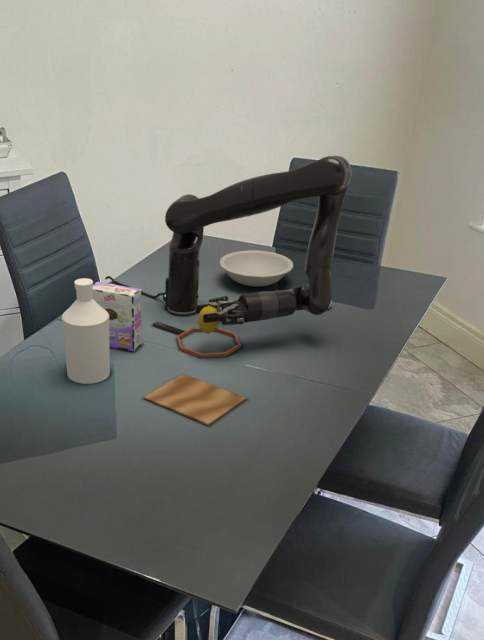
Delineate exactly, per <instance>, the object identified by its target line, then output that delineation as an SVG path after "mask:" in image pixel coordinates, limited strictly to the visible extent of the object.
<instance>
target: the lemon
mask: <svg viewBox="0 0 484 640" xmlns="http://www.w3.org/2000/svg"><path fill="white" fill-rule="evenodd" d="M216 309H217V308H213V307H211V306H207V307H205V308H203V309H202V310H201V311H200V314H198V319H197V322H198V323H197V324H198V328H200V329H201V330H202V331H201V332H204V333H205V334H206V335H210V333H212V332H215V331H214V330H215V329H216V328H217V327H218V326H219V322H217V321H215V322H207V323H204V322H203V315H204V314H208V313H217V314H218V312H217V311H216Z"/></svg>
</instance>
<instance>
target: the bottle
mask: <svg viewBox="0 0 484 640" xmlns="http://www.w3.org/2000/svg"><path fill="white" fill-rule="evenodd" d="M93 285H94V281H93V279H91V278H86V277H83V278H77V279H76V280H74V289H75V294H76V299H75V300H74V302H73V303H72V304H71V305H70V306H69V308H67V309H66V310H65V311H64V312H63V313H62V315H61V321H62V332H63V343H64V352H65V363H66V364H65V366H66V375H67V378H68V379H69V380H70V381H72V382H74V383H78V384H82V385H91V384H92V385H93V384H98V383H100V382H103V381H105V380H106V379H108V378H109V376H110V374H111V367H110V365H111V364H110V363H111V361H110V358H111V357H110V356H111V355H110V354H111V353H110V347H109V314H108V312H107V311H105V310H104V309H103V308H102V307H101V306H100V305H99V304H97V303H96V302H95V301H94V300H93V299H92V288H93Z"/></svg>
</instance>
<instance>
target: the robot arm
mask: <svg viewBox="0 0 484 640" xmlns="http://www.w3.org/2000/svg"><path fill="white" fill-rule="evenodd" d="M352 174H353V172H352V167H351V164H350V162H349V161H348V160H347V159H346V158H345V157H343V156H341V155H327V156H324V157H321V158H319V159H318V160H315V161H312V162H310V163H308V164H305V165H303V166H300V167H298V168H294V169H291V170H287V171H283V172H282V171H280V172H273V173H267V174H263V175H257V176H254V177H250V178H247V179H244V180H241V181H238V182H236V183H233V184H230V185H229V186H226V187H224V188H222V189H220V190H219V191H215V192H214V193H212V194H210V195H208V196H204V197H198V196H196V195H194V194H184V195H181V196H180V197H179V198H177V199H175V200H174V201H173V202H171V203H170V204H169V206H168V208H167V209H166V212H165V215H164V222H165V225H166V227H167V228H168V229H169V230H170V231H171V232H172V236H171V240H170V242H169V244H168V273H167V274H168V276H167V277H166V278H165V286H164V287H165V288H164V289H165V290H164V292H159V293H157V294H156V295H151V294H148V293H146V292H145V291H142V290H141V295H143V296H145V297H148V298H151V299H158V298H159V297H160V296H162V301H164V309H166V310H167V311H168V313H170V314H173V315H177V316H190V315H193V314H195V313H196V314H197V315H199V314H200V311H201V310H202V309H203V308H205V307H207V306H211V307H213V308H215V309H216V311H217V312H218V314H217V313H208V314H204V315H203V322H204V323H207V322H215V321H217V322H219V323H221V325H222V326H233V325H244V324H246V323H253V322H259V321H260V322H261V321H267V320H272V319H276V318H277V319H278V318H283V317H284V318H285V317H288V316H289V317H290V316H292V315H294V313H295V312H299V311H306V312H307V313H310V314H311V315H313V316H320V315H323V314H324V313H326V312H327V311H328V309H330V307H331V306H330V303H331V300H332V297H333V287H332V286H333V284H332V267H333V261H334V253H335V246H336V242H337V241H336V240H337V234H338V228H339V222H340V218H341V212H342V208H343V204H344V201H345V197H346V194H347V191H348V188H349V186H350V182H351V180H352ZM316 197H317V198H318V204H317V210H316V216H315V220H314V223H313V228H312V231H311V234H310V238H309V242H308V246H307V251H306V258H305V266H304V273H305V275H306V276H307V278H308V284H302V285H298V286H295V287H292V288H289V289H282V290H274V291H259V292H249V293H243V294H241V295H240V296H239V297H238V299H237V300H235V299H234V300H233V299H232V300H231V299H229V296H228V295H224V296H219V297H214V298H210V299H208V303H203V304H199V283H200V259H201V256H200V255H201V247H202V244H203V240H204V227H207V226H210V225H213V224H216V223H221V222H228V221H234V220H238V219H239V220H240V219H242V218H248V217H251V216H255V215H260V214H263V213H266V212H270V211H273V210H275V209H278V208H280V207H283V206H284V205H285V206H286V205H287V204H289V203H292V202H294V201H299V200H303V199H309V198H316ZM108 279H109V280H111V281H112V283H113V284H115V285H120V286H126V287H132V288H134V287H133V286H130V285H126V284H125V283H121V282H118V281H117V280H115V279H114V278H113V277H112V276H109V275H107V276H105V278H104V280H108ZM114 280H115V281H114ZM331 304H332V303H331ZM329 306H330V307H329ZM219 323H218V324H219Z"/></svg>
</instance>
